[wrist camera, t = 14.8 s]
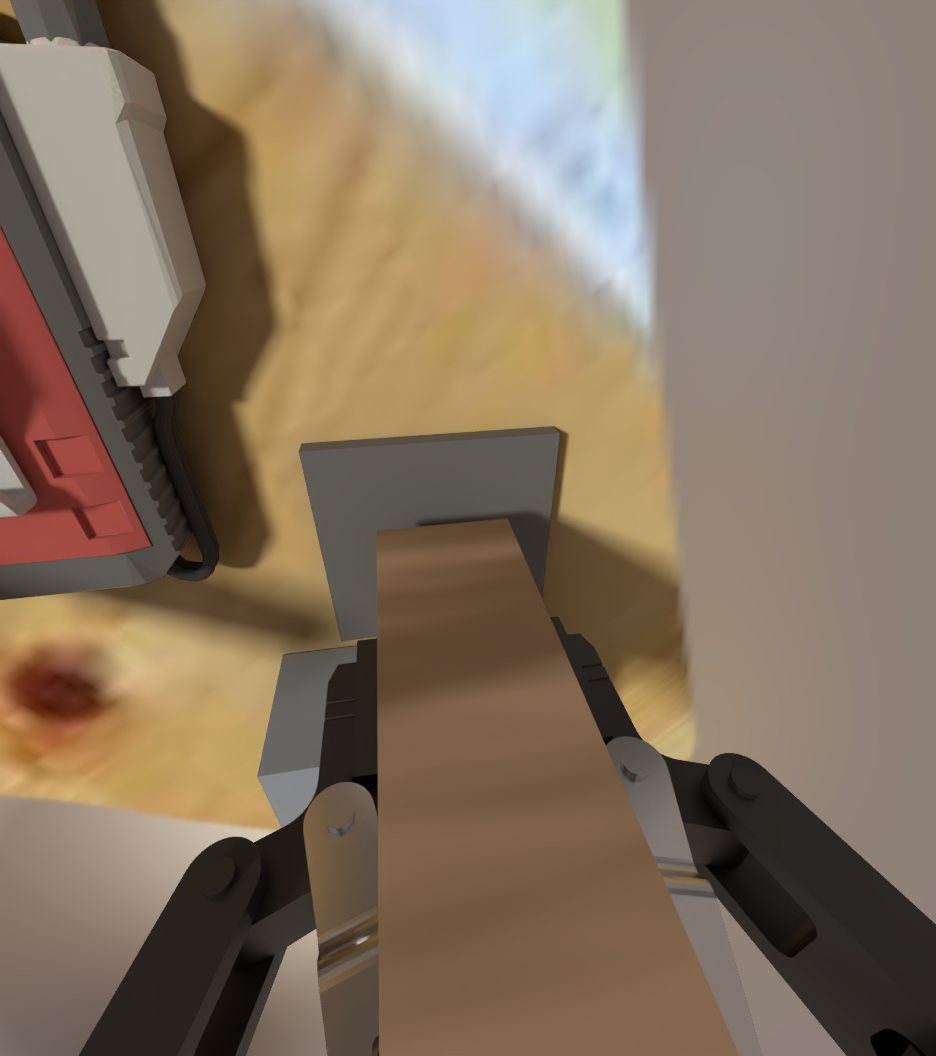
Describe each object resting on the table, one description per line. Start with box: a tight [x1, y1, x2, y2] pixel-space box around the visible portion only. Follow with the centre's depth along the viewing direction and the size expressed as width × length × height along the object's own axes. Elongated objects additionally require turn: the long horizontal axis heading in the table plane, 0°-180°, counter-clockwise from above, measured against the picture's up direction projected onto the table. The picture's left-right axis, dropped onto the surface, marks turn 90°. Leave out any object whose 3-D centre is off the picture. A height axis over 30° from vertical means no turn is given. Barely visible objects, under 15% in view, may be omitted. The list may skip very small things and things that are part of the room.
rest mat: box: [299, 426, 560, 641], centre depth 17 cm, size 8×8×1 cm
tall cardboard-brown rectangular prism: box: [376, 518, 739, 1056], centre depth 10 cm, size 4×4×12 cm
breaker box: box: [257, 646, 357, 828], centre depth 21 cm, size 11×11×5 cm
